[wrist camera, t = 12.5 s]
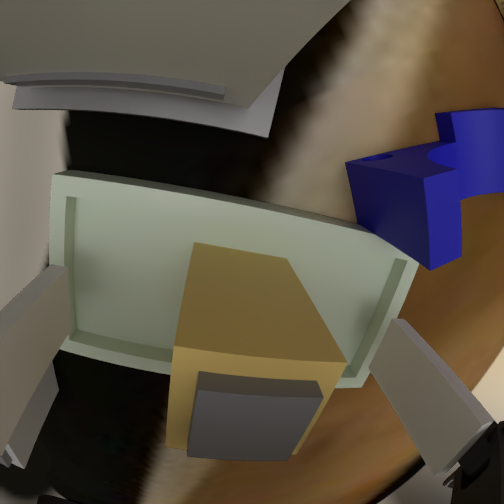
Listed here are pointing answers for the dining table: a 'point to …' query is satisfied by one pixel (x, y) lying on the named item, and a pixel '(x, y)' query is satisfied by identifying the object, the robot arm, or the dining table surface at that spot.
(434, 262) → the cable clip
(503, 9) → the candy box
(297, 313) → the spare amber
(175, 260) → the tray
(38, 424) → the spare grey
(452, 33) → the dining table surface
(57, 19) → the block
